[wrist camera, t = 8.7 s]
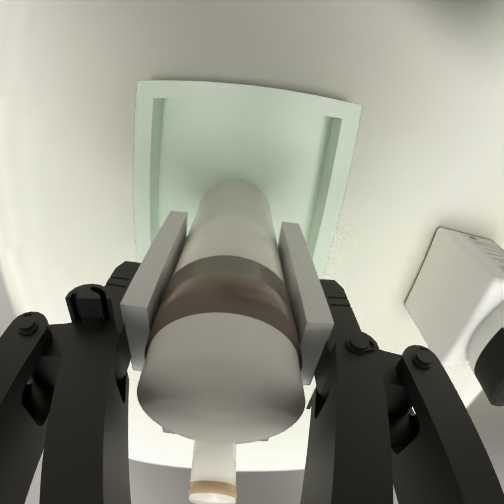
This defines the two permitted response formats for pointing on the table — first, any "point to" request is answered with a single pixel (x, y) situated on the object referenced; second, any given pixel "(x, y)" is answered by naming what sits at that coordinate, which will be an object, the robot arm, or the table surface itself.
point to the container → (463, 306)
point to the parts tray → (241, 154)
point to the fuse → (213, 474)
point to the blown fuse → (225, 329)
